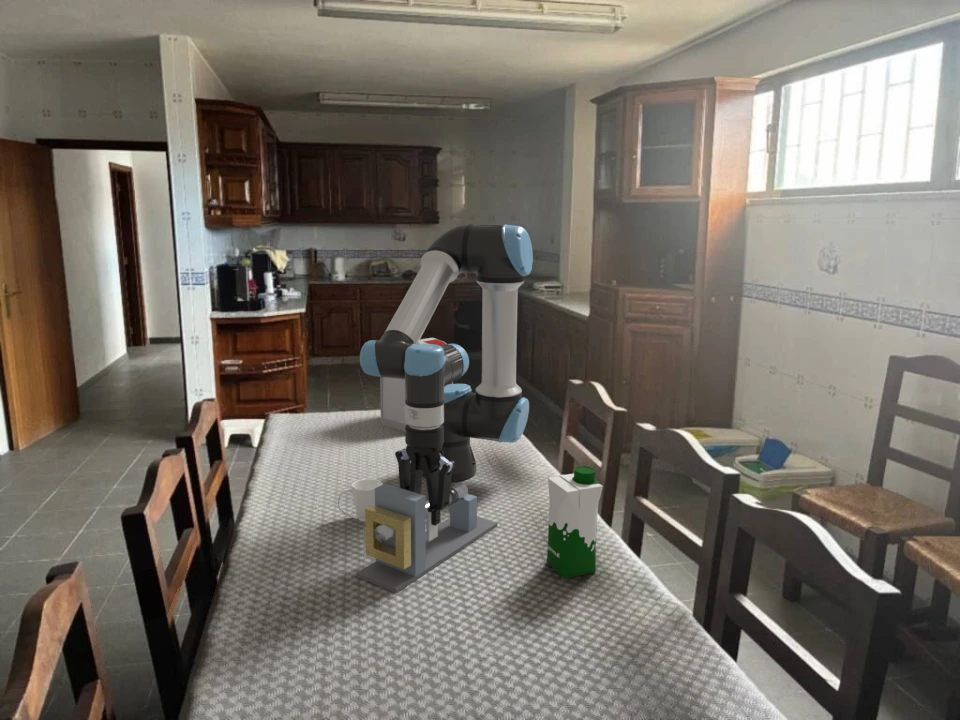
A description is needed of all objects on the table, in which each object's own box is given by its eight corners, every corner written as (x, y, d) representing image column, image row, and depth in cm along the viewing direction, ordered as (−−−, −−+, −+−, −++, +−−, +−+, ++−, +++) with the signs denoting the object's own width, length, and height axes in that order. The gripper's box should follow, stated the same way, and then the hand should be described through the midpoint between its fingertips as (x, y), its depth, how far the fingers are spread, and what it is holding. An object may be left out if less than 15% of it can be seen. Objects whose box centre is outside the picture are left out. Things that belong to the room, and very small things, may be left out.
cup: (384, 523, 157) (383, 489, 155) (338, 526, 155) (337, 492, 153) (382, 510, 163) (381, 477, 162) (338, 512, 162) (337, 479, 160)
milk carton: (602, 573, 137) (608, 476, 133) (561, 582, 133) (566, 482, 129) (578, 553, 145) (583, 460, 140) (539, 561, 141) (543, 466, 137)
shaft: (456, 494, 153) (456, 481, 152) (468, 498, 151) (468, 484, 150) (374, 539, 132) (374, 524, 131) (387, 544, 130) (386, 529, 129)
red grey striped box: (379, 423, 227) (377, 341, 222) (418, 412, 241) (418, 334, 235) (415, 435, 217) (415, 348, 211) (454, 422, 230) (454, 341, 224)
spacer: (373, 550, 137) (372, 505, 135) (411, 565, 132) (410, 517, 130) (365, 554, 135) (365, 508, 133) (404, 569, 130) (403, 521, 128)
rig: (460, 514, 162) (461, 448, 158) (497, 526, 156) (499, 457, 153) (356, 576, 134) (354, 497, 131) (396, 593, 129) (395, 511, 125)
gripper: (380, 421, 139) (382, 532, 144) (446, 437, 130) (445, 554, 135) (405, 412, 145) (405, 519, 150) (469, 427, 136) (468, 539, 141)
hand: (424, 535), depth 142 cm, fingers closed on shaft, 3 cm apart
